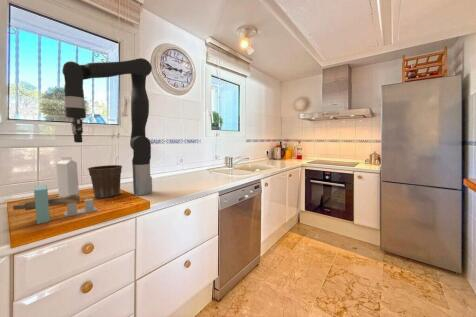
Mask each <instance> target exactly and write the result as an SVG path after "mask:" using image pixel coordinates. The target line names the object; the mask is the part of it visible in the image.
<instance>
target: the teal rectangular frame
mask: <svg viewBox="0 0 476 317" xmlns="http://www.w3.org/2000/svg"><path fill="white" fill-rule="evenodd" d="M48 191H49V190H48V185H47V184H46V185H38V186H37V185H35V187H34V189H33V194H34V200H35V207H36V209H35V215H36V216H35V218H36V224H37V225H39V224H44V223H50V222H51V216H50V207H49V205H48V198H49V193H48Z"/></svg>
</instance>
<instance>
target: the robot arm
mask: <svg viewBox="0 0 476 317" xmlns="http://www.w3.org/2000/svg"><path fill="white" fill-rule="evenodd" d="M62 66H63V67H62V68H61V69H62V70H61V71H62V75H63V77H64V90H63V91H64V107H65V108H64V109H65V117H66V118H68V119H72V121H71V122H70V124H71V131H72V134H73V142H74V143H83V132H84V130H83V127H84V126H83V123H84V122H83V120H84V119H86V118H87V113H86V112H87V111H86V110H87V109H86V101H85V94H84V93H85V92H84V80H90V79H102V78H103V79H104V78H105V79H106V78H112V77H117V76H122V75H123V76H124V75H130V77H131V78H130V79H131V93H130V94H131V95H130V98H131V99H130V116H131V120H130V121H131V132H130V133H131V134H130V141H129V145H130V148H131V149H132V150H133V151H132V154H133V156H132V158H131V159H132V160H131V163H132V164H131V165H132V187H133V190H132V191H133V195H134V196H145V195H149V194H152V193H153V176H151V158H152V145H151V140H150V139H149V138H148V137H146V136H147V135H146V126H147V122H148V120H149V115H150V100H149V96H148V93H147V90H146V89H147V88H146V84H147V83H146V82H147V77H148V76H149V75H150V74H151V73H152V70H153V66H152V64H151V63H150V61H149V60H147V59H145V58H142V57H140V58H136V59H129V60H122V61H105V62H104V61H95V62H94V61H93V62H92V61H91V62H87V63H86V64H79V63H77V62H76V61H73V60H72V61H71V60H70V61H67V62H64V64H63V65H62ZM82 119H83V120H82Z"/></svg>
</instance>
